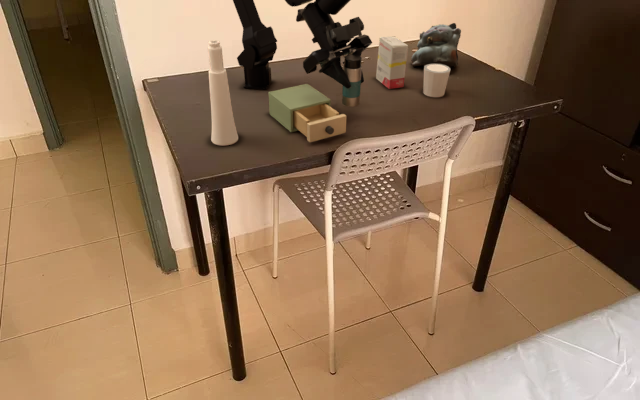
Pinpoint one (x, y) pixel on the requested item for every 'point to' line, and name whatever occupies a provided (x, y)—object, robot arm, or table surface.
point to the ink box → (391, 62)
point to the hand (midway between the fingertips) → (356, 85)
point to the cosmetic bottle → (220, 99)
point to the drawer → (319, 122)
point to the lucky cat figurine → (438, 46)
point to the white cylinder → (435, 79)
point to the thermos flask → (352, 80)
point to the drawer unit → (293, 103)
